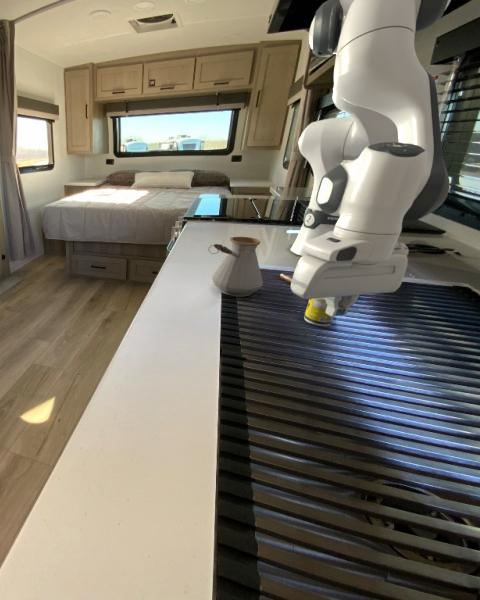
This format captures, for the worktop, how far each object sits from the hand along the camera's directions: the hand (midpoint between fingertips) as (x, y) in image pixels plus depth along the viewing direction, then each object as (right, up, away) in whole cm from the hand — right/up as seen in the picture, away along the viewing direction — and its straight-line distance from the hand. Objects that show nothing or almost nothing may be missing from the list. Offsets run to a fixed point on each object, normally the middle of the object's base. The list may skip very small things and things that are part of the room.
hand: (335, 314), depth 64 cm
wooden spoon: (+6, +5, +18) cm, 20 cm away
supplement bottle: (-1, -2, +4) cm, 5 cm away
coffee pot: (-14, +4, +16) cm, 22 cm away
